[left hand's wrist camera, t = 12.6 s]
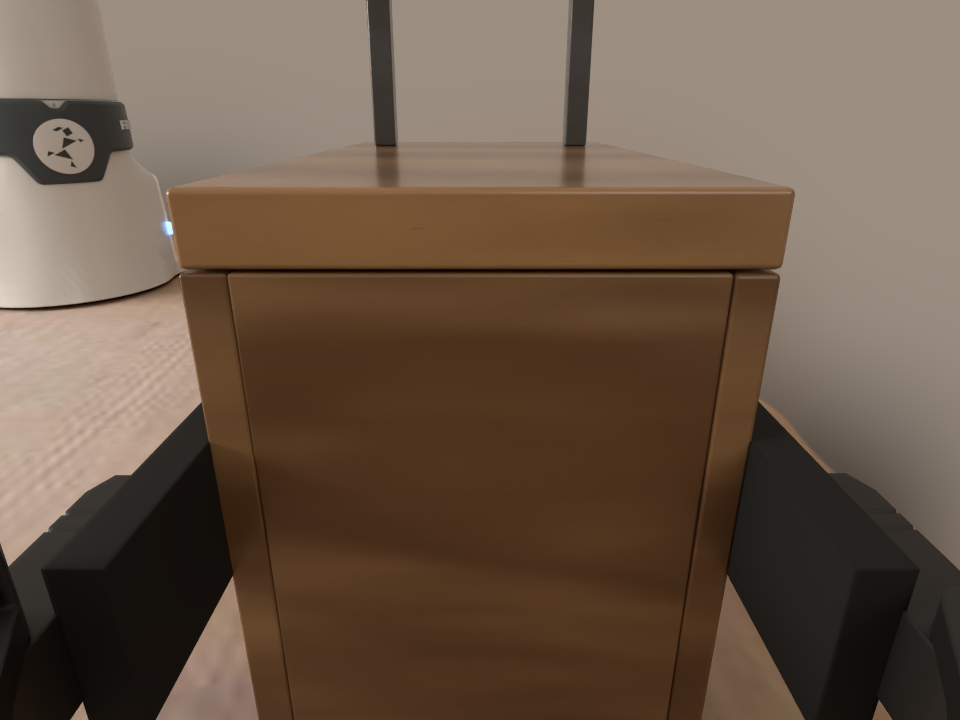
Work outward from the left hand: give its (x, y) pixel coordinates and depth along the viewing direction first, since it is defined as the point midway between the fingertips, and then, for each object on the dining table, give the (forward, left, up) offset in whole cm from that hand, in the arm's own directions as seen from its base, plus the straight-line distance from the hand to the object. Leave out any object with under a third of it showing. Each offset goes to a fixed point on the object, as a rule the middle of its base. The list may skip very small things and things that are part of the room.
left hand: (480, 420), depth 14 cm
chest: (+4, +1, -7) cm, 8 cm away
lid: (+5, +1, +4) cm, 6 cm away
